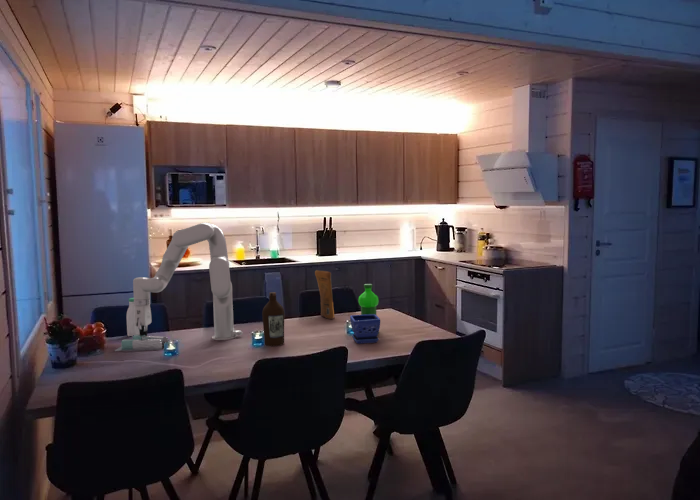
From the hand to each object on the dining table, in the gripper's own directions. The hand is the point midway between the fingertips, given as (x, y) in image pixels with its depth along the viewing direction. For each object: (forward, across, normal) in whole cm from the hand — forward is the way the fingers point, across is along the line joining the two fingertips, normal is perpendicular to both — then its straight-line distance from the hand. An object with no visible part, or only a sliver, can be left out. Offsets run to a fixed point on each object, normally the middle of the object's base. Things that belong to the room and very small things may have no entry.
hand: (143, 339), depth 273 cm
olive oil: (+2, -8, -66) cm, 66 cm away
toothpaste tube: (+2, -6, -6) cm, 8 cm away
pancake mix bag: (+1, +57, -89) cm, 105 cm away
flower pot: (+1, -7, -110) cm, 110 cm away
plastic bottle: (+1, +12, -112) cm, 113 cm away
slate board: (+2, -6, -5) cm, 8 cm away
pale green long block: (+2, -13, -5) cm, 14 cm away
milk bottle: (+3, +20, +12) cm, 23 cm away
